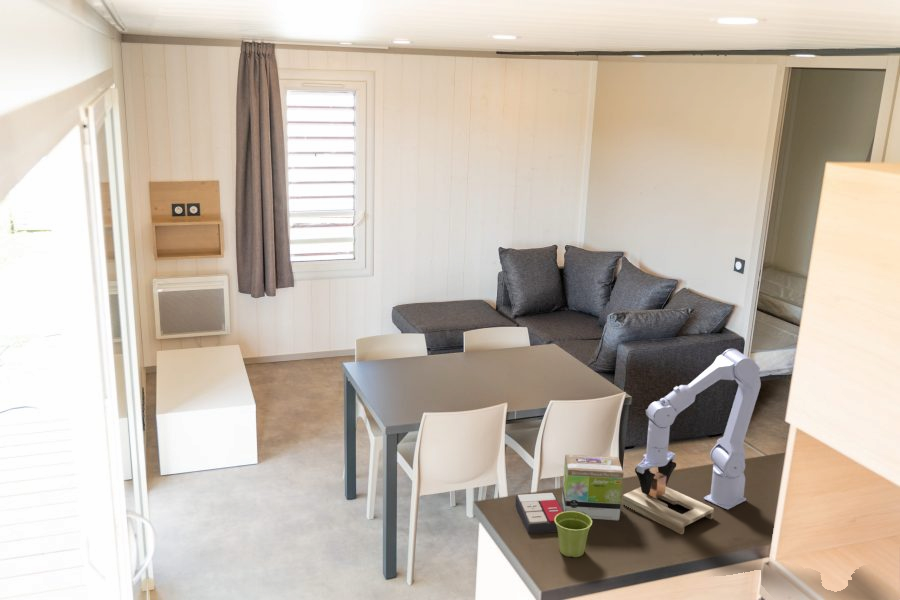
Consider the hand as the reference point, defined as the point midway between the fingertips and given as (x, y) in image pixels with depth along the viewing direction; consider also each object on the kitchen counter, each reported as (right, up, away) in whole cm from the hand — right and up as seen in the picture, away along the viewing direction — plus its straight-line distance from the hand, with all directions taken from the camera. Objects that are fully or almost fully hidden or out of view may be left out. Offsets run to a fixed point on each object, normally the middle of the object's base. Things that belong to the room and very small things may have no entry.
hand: (653, 489), depth 223 cm
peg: (0, -5, +1) cm, 5 cm away
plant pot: (-27, -10, -23) cm, 36 cm away
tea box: (-18, -6, -3) cm, 19 cm away
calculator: (-32, -7, -7) cm, 34 cm away
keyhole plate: (+3, -6, -2) cm, 7 cm away
